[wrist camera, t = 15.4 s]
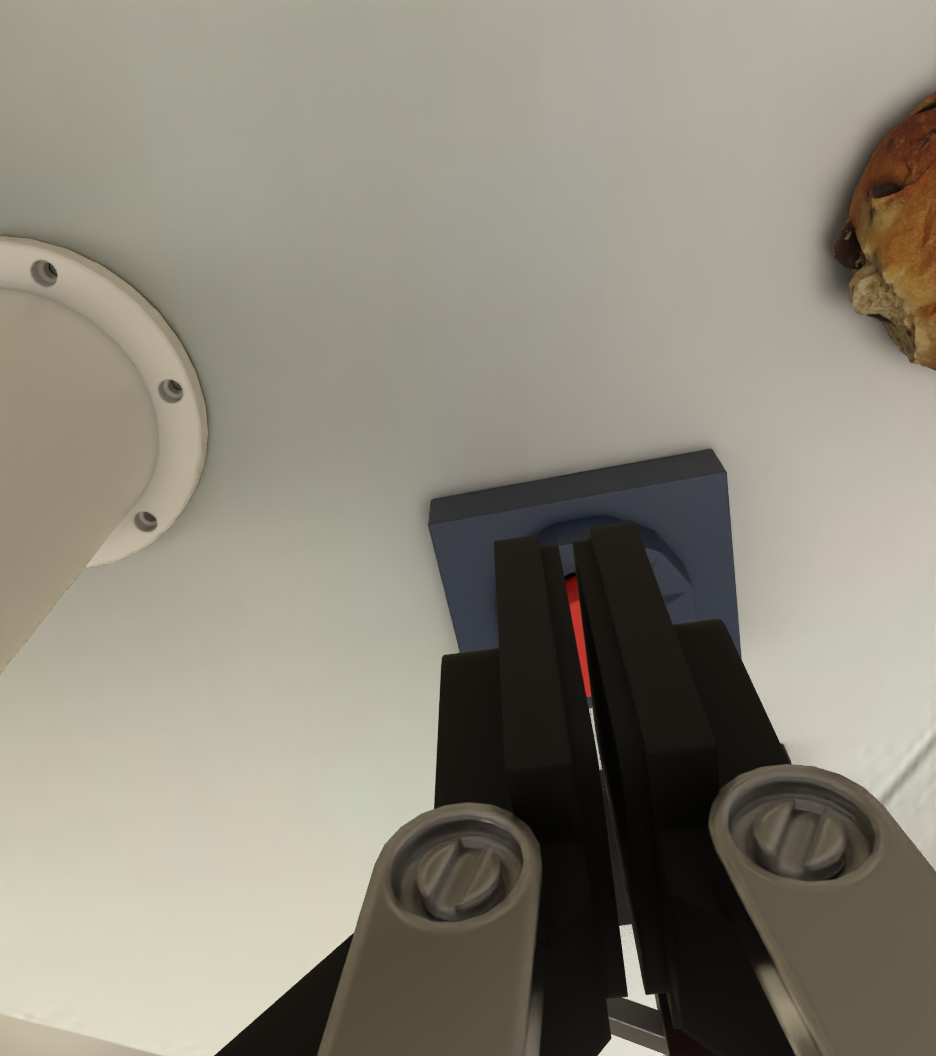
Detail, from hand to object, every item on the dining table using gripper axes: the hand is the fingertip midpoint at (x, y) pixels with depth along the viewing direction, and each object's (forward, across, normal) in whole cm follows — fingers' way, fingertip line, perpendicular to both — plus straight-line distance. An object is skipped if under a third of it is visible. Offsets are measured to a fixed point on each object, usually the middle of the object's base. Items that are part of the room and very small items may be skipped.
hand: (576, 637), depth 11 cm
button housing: (+23, -1, +12) cm, 26 cm away
